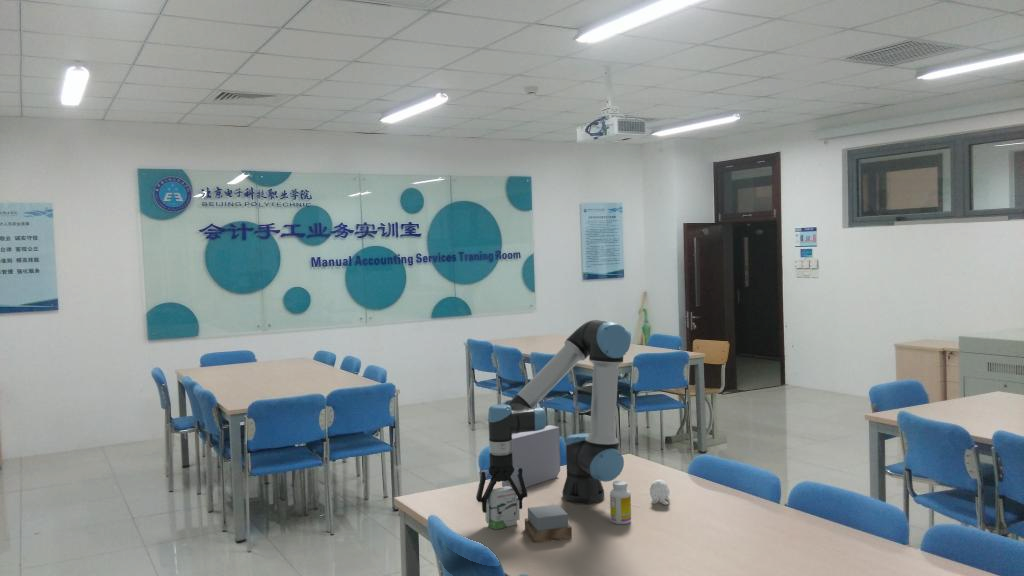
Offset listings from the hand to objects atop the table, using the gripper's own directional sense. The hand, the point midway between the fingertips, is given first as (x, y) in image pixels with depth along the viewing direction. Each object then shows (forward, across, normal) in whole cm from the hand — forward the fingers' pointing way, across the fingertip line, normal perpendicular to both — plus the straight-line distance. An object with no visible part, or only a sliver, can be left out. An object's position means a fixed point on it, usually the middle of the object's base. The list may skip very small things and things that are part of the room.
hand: (502, 520), depth 249 cm
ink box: (+2, 0, 0) cm, 2 cm away
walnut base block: (+2, +12, -12) cm, 17 cm away
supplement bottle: (+2, +38, -8) cm, 39 cm away
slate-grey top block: (-2, +12, -12) cm, 17 cm away
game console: (+2, +20, +42) cm, 47 cm away
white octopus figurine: (+2, +59, +7) cm, 59 cm away
